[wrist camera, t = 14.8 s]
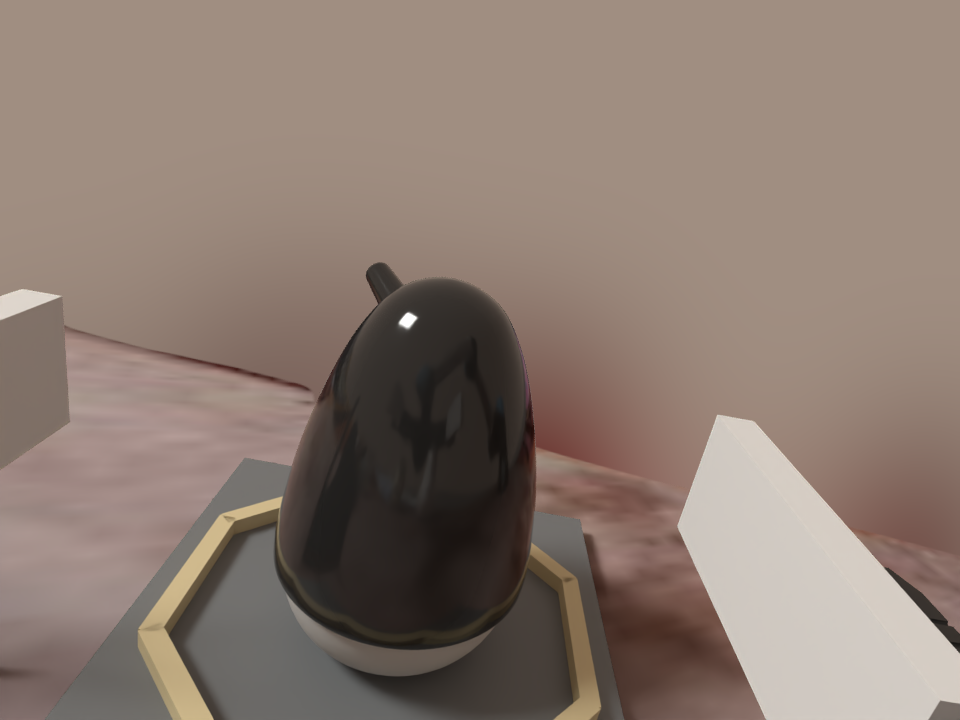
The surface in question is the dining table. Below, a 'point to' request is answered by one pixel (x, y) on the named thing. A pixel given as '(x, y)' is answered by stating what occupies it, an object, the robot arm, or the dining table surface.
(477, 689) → the dock plate
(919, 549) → the dining table surface
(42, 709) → the dining table surface
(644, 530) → the dining table surface
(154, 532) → the dining table surface
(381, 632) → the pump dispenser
